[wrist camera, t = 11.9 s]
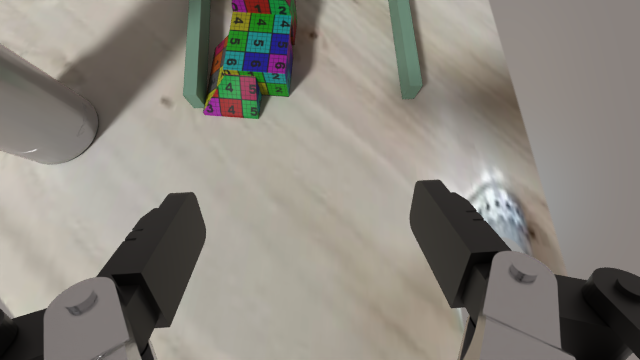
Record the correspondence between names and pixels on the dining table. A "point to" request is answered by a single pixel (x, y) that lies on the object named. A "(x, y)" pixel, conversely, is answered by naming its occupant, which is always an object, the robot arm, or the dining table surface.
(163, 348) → the dining table surface
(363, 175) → the dining table surface
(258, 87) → the building blocks
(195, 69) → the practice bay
